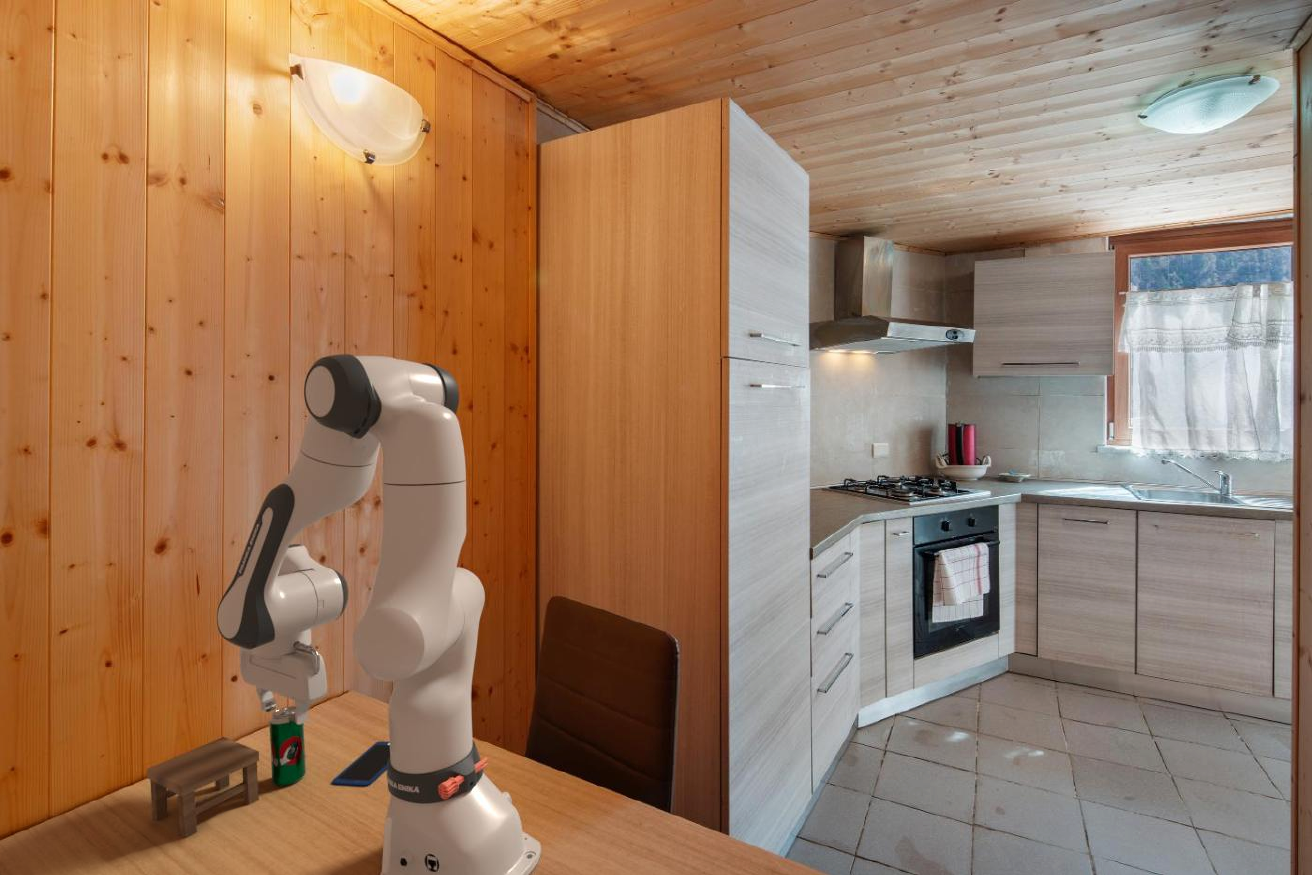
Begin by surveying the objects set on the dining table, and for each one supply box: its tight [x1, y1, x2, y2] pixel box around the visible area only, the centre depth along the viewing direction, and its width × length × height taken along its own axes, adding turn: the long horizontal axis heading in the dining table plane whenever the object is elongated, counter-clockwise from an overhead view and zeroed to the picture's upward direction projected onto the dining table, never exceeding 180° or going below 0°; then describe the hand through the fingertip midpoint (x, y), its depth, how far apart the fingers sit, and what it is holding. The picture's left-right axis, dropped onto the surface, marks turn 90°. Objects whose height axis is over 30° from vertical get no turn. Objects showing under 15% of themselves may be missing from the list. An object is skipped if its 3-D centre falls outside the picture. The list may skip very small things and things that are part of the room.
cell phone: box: [331, 740, 390, 788], centre depth 112 cm, size 7×14×1 cm, turn 171°
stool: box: [146, 736, 260, 839], centre depth 100 cm, size 11×11×8 cm
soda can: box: [268, 705, 307, 787], centre depth 107 cm, size 5×5×12 cm
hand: (284, 716), depth 107 cm, fingers open, 8 cm apart
